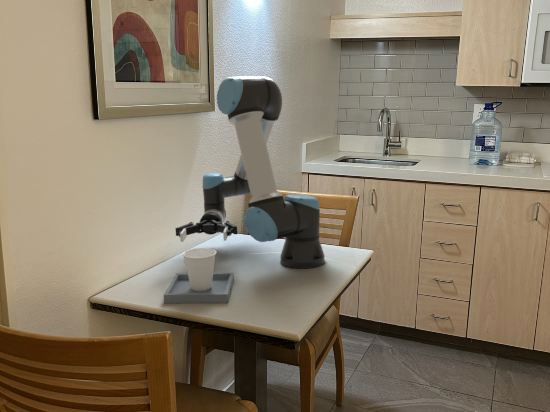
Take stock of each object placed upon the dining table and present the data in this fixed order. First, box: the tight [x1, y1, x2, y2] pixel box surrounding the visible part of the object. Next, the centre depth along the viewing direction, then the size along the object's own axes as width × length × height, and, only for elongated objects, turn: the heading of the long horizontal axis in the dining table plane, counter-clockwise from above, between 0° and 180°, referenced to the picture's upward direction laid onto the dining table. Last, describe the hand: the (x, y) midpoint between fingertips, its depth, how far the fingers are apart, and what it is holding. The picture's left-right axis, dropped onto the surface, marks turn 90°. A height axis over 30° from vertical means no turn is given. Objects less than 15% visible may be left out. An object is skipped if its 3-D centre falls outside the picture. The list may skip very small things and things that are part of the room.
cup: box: [182, 247, 218, 291], centre depth 162 cm, size 10×10×11 cm
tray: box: [163, 272, 235, 304], centre depth 162 cm, size 18×18×2 cm
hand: (203, 237), depth 172 cm, fingers open, 13 cm apart
